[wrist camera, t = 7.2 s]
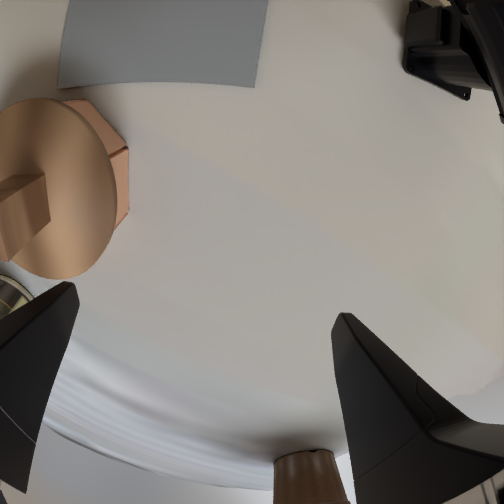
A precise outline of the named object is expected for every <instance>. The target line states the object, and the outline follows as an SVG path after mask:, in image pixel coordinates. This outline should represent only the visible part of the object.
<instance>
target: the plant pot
mask: <svg viewBox="0 0 504 504" xmlns="http://www.w3.org/2000/svg"><path fill="white" fill-rule="evenodd" d="M273 497H274V498H273V504H350V502H349V501H348V499H347V496H346V494H345V490H344V487H343V484H342V481H341V478H340V474H339V471H338V468H337V465H336V461H335V458H334V454H333V453H332V452H330V451H326V450H316V452H309V451H303V452H298V453H293V454H289V455H286V456H284V457H282V458H279V459H278V460H276V463H274V496H273Z"/></svg>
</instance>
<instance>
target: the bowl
mask: <svg viewBox="0 0 504 504" xmlns="http://www.w3.org/2000/svg"><path fill="white" fill-rule="evenodd" d="M62 102H63V103H65V104H67V105H69V106H71V107H72V108H73V109H75V110H76V111H77V112H79V113H80V114H81V115H82V116H83V117H84V118H85V119H86V120H87V121H88V122H89V123H90V124H91V126H92V127H93V128H94V130H95V131H96V132H97V134H98V135H99V137H100V139H101V141H102V142H103V144H104V146H105V149H106V151H107V153H108V155H109V158H110V161H111V164H112V167H113V171H114V176H115V180H116V187H117V216H116V223H115V227H114V230H115V229H116V227H117V226H118V225H119V224H120V222H121V221H122V220H123V219H124V218H125V216H126V215H127V214H128V213H127V212H128V211H129V184H128V155H129V149H123V148H124V147H125V146H126V145H127V144H126V143H125V141H124V140H123V139H122V138H121V137H120V136H119V135H118V134H117V133H116V131H115V130H114V129H113V128H112V127H111V126H110V125H109V124H108V122H107V121H106V120H105V119H104V118H103V117H102V116H101V115H100V113H99V112H98V111H97V110H96V109H95V108H94V107H93V105H92V104H91V103H90V102H89V101H85V99H81V100H71V101H62Z"/></svg>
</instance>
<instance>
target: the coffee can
mask: <svg viewBox="0 0 504 504" xmlns="http://www.w3.org/2000/svg"><path fill="white" fill-rule="evenodd" d="M32 299H34V298H33V297H32V296H31V295H30V293H29V292H28V291H27V290H26V289H24V288H23V287H22V286H21V285H20V284H18V283H17V282H16V281H14V280H12V279H11V278H9V277H6V276H3V275H0V319H1V318H3V317H5V316H6V315H8V314H9V313H11V312H13V311H14V310H16V309H17V308H19V307H21V306H22V305H24V304H26V303H27V302H29V301H31V300H32Z"/></svg>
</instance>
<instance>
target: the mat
mask: <svg viewBox="0 0 504 504" xmlns="http://www.w3.org/2000/svg"><path fill="white" fill-rule="evenodd" d="M267 4H268V0H70V3H69V7H68V12H67V17H66V22H65V28H64V33H63V40H62V47H61V54H60V63H59V73H58V86H57V89H63V88H71V87H78V86H87V85H98V84H110V83H127V82H191V83H209V84H222V85H232V86H242V87H250V88H254V86H255V80H256V73H257V66H258V60H259V53H260V47H261V41H262V34H263V28H264V22H265V16H266V10H267Z"/></svg>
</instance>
